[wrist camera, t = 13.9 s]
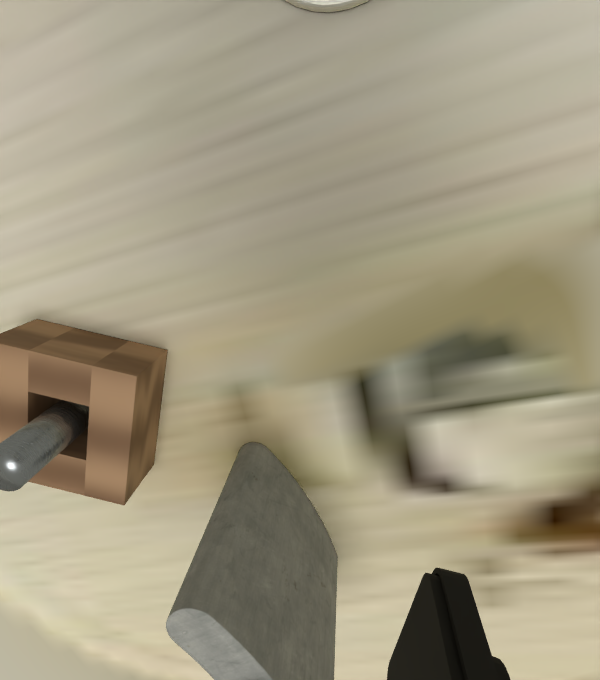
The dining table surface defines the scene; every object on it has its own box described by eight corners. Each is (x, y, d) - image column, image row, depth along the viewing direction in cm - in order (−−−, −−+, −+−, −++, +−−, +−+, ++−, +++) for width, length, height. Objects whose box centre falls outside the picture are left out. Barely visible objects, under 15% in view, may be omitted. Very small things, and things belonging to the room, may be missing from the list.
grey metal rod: (82, 375, 41) (-20, 444, 29) (116, 383, 41) (26, 456, 29) (81, 406, 42) (-20, 484, 30) (113, 414, 42) (25, 496, 30)
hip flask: (231, 450, 42) (134, 663, 23) (268, 432, 41) (199, 640, 22) (315, 574, 45) (291, 848, 26) (351, 560, 44) (353, 835, 25)
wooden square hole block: (36, 319, 39) (-16, 340, 34) (167, 350, 39) (136, 376, 33) (34, 435, 43) (-13, 471, 38) (153, 464, 43) (124, 505, 37)
